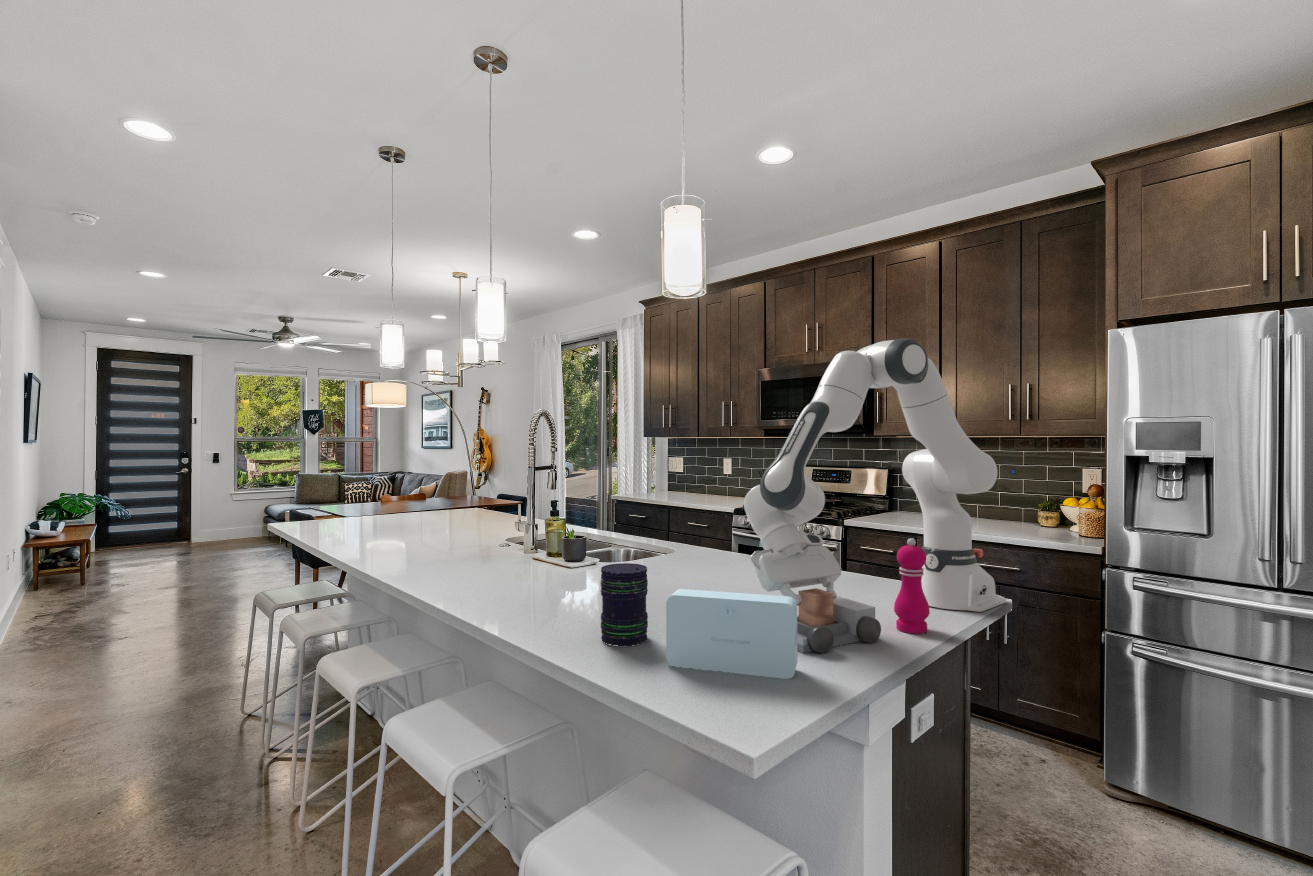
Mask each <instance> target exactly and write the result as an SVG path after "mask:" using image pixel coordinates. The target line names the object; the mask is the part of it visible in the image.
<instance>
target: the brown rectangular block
mask: <svg viewBox="0 0 1313 876" xmlns="http://www.w3.org/2000/svg"><path fill="white" fill-rule="evenodd" d="M798 594H799V595H800V597H801V599H802V600H803V602H802V604H801V605H799V606H798V616H799V622H800V623H803V624H805V625H808V626H811V627H813V626H815V625H821V626H826V625H832V624H833V593H831V592H827V590H824V589H822V588H817V587H816V588H809V589H803V590H798Z"/></svg>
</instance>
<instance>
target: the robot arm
mask: <svg viewBox="0 0 1313 876" xmlns="http://www.w3.org/2000/svg"><path fill="white" fill-rule="evenodd" d="M926 351H927V350H925V348H924V346H923V345H922V344H921V343H920V342H919V341H917V340H915V339H913V338H907V337H906V338H904V337H903V338H902V337H901V338H896V339H892V340H890V339H889V340H882V341H879V342H875V343H873V344H870V345H867V346H861V347H859V348H856V349H855V350H844V351H843V350H842V351H840V352H838V353H837V354H835V355H834V357H833V358H832V360H831V361H830V363H829V364H828V366H827V368H826V369H825V371H824V374H823V375H822V377H821V379H820V381H819V384H818V386H817V389H816V391H815V393H814V395H813V398H812V399H811V401H810V402H809V403H808V404H807V405H806V406H805V407H804V408H803V409H802V411H801V412H800V414H799V416H798V417H797V419H796V421H795V423H794V425H793V427H792V428H791V430H790V432H789V433H788V436H787V438H786V440H785V441H784V444H783V446H782V447H781V449H780V451H779V453H778V455H777V456H776V457H775V459H774V460H773V462H772V463H770V465H769V466H768V467H767V468H766V470H765V471H764V473H763V474H762V477H761V478H760V483H759V484H757V485H755V486H754V487H752V488H751V489H750V490H749V491H748V492H747V493H746V495H745V496H744V500H743V509H744V512H745V514H746V517H747V519H748V522H749V524H750V525H751V528H752V530H753V531H754V533H755V534H756V535H758V537H759V539H760V544H761V547H762V548H763V550H755V551H754V552H753V553H752V554H751V556H750V560H751V563H752V565H753V567H755V568H754V569H755V573H756V575H757V578H758V580H759V583H760V585H761V587H762V589H764V590H765V591H767V592H775V591H780V594H781V595H782V596H789V597H792V598H793V599H794V600H795V601H796V603H797V607H799V605H801V604H802V602H803V600H802V599H801V597H800V595H799V593H798V594H796V593H795V592H794V591H793V590H792V589H794V588H796V589H797V588H803V587H808V586H815V585H822V587H823V588H826V590H825V591H827V592H831V593H833V600H834V599H835V598H836V597H837V596H838V594H837V593H836V591H835V589H834V588H835V586H834V582H836V581H837V580H838V579H839V577H840V576H842V568H841V565H840V564H839V562H838V561H837V559H836V557H835V555H834V554H833V553H832V552H831V550H830V549H828V547H826V546H824V543H825V541H824V540H823V537H821V536H819V535H817V534H812V533H807V532H805V531H802V530H799V529H798V528H797V527H799V526H802V525H804V524H807V523H809V522H810V521H813V520H814V519H817V517H818V516H820V514H821V513H822V512H823V510H824V508H825V504H826V494H825V492H824V489H822V487H821V486H820V485H818V483H816V482H815V481H814V480H812V479H811V478H810V477H808V476H807V475H806V468H807V467H806V466H807V463H808V462H809V459H810V457H811V455H812V454H813V451H814V450H815V447H816V446H817V443H818V442H819V440H820V438H821V437H822V436H823V435H824V434H826V433H828V432H829V433H838V432H839V433H840V432H843V431H847V430H848V429H850V428H851V427H852V426H854V424H855V422H856V420H857V419H858V417H859V415H860V413H861V411H862V408H863V405H864V403H865V400H866V397H867V394H868V391H869V390H870V389H885V388H886V389H887V388H889V387H893V388H894V389H895V390H896V393H897V396H898V397H897V398H898V401H899V405H900V406H901V407H900V408H901V410H902V414H903V416H904V419H905V421H906V422H905V423H906V425H907V429H908V431H909V434H910V436H912V438H914V439H915V440H916V441H918V442H919V443H921V444H922V445H923V446H924V447H925V448H924V449H919V450H916V451H912V452H911V453H909V454H908V455H906V457H905V458H904V460H903V462H902V466H901V467H902V469H901V470H902V475H903V476H902V477H903V478H904V480H905V482H906V483H907V484H908V485H909V486H910V487H911V489H912V490H913V491H914V493H915V495H916V498H917V500H918V504H919V506H920V509H921V510H920V511H921V513H922V514H921V515H922V521H923V523H922V525H923V545H922V546H921V548H922V549H923V550H924V552H925V554H926V563H925V564H924V565H923V567H922V568H923V569H924V571H923V573H924V575H923V576H922V580H921V582H922V589H923V593H924V595H925V597H926V600H927V602H928V605H929V607H933V608H937V609H943V610H951V611H953V610H954V611H970V612H978V613H979V612H985V611H987V610H990V609H993V608H994V607H998V606H1000V605H1003V604H1005V603H1007V599H1006V598H1005V596H1001V595H999V594H996V581H995V579H994V577H993V576H992V575H990V574H989V572H987V571H986V570H985V569H984V568H982V567H981V566H980V565H979V564H978V563H977V562H978V561H977V558H982V557H983V556H984V551H983V549H980V548H976V547H975V548H973V546H972V541H973V539H972V538H973V537H972V535H973V532H972V530H973V529H972V527H973V525H972V522H973V520H972V518H971V516H970V514H969V513H968V512H967V511H966V510H965V509H964V508H963V507H962V506H961V504H960V501H959V500H958V497H957V494H961V495H975V494H980V493H986V492H988V491H989V490H991V489H992V488H993V486H994V485H995V483H996V481H997V477H998V467H997V464H996V462H995V460H994V458H993V457H992V456H991V455H990V454H988V453H986V452H984V451H983V450H981V448H979V447H978V446H977V445H976V444H975V443H974V442H973V441H972V440H971V439H970V437H969V435H967V434H966V432H965V431H964V430H963V429H962V426H961V425H960V424H959V421H958V420H957V417H956V414H955V411H954V408H953V406H952V404H951V401H950V398H949V395H948V392H947V388H946V385H945V384H944V381H943V378H942V375H941V374H940V372H939V370H938V369H937V367H936V365H935V364H934V362H933V361H932V359H931V358H930V357H928V354H927V352H926Z"/></svg>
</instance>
